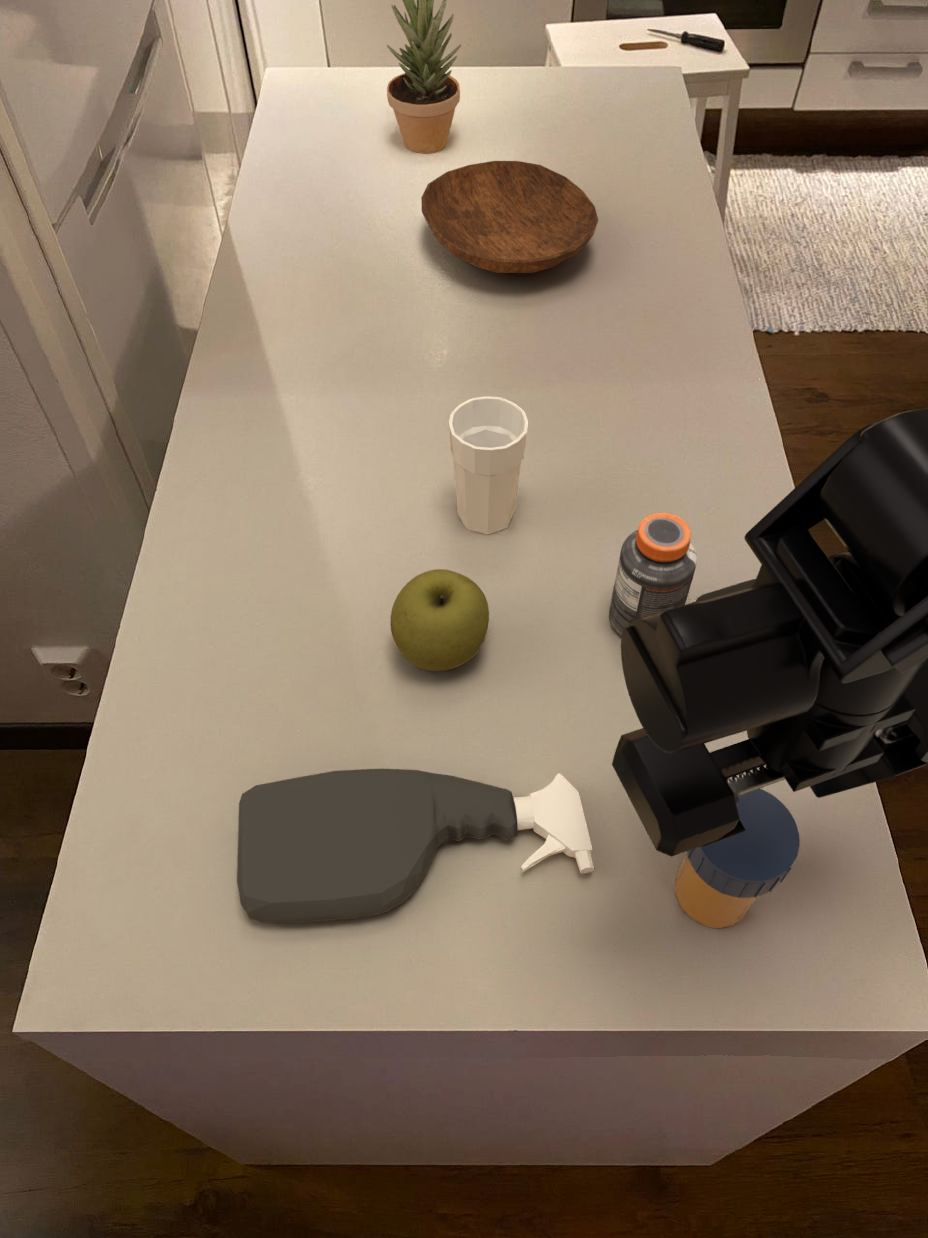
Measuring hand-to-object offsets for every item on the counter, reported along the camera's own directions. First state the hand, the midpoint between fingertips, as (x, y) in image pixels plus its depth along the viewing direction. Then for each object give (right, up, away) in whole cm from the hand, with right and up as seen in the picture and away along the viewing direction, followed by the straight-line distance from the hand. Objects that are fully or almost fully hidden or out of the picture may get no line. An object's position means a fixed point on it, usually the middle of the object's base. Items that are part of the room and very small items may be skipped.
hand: (758, 810), depth 56 cm
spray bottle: (-21, -5, +12) cm, 25 cm away
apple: (-19, +9, +23) cm, 31 cm away
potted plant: (-22, +76, +73) cm, 108 cm away
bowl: (-12, +56, +58) cm, 82 cm away
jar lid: (0, -3, +4) cm, 6 cm away
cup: (-15, +21, +32) cm, 41 cm away
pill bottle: (-2, +11, +24) cm, 27 cm away
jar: (0, -8, +10) cm, 13 cm away
